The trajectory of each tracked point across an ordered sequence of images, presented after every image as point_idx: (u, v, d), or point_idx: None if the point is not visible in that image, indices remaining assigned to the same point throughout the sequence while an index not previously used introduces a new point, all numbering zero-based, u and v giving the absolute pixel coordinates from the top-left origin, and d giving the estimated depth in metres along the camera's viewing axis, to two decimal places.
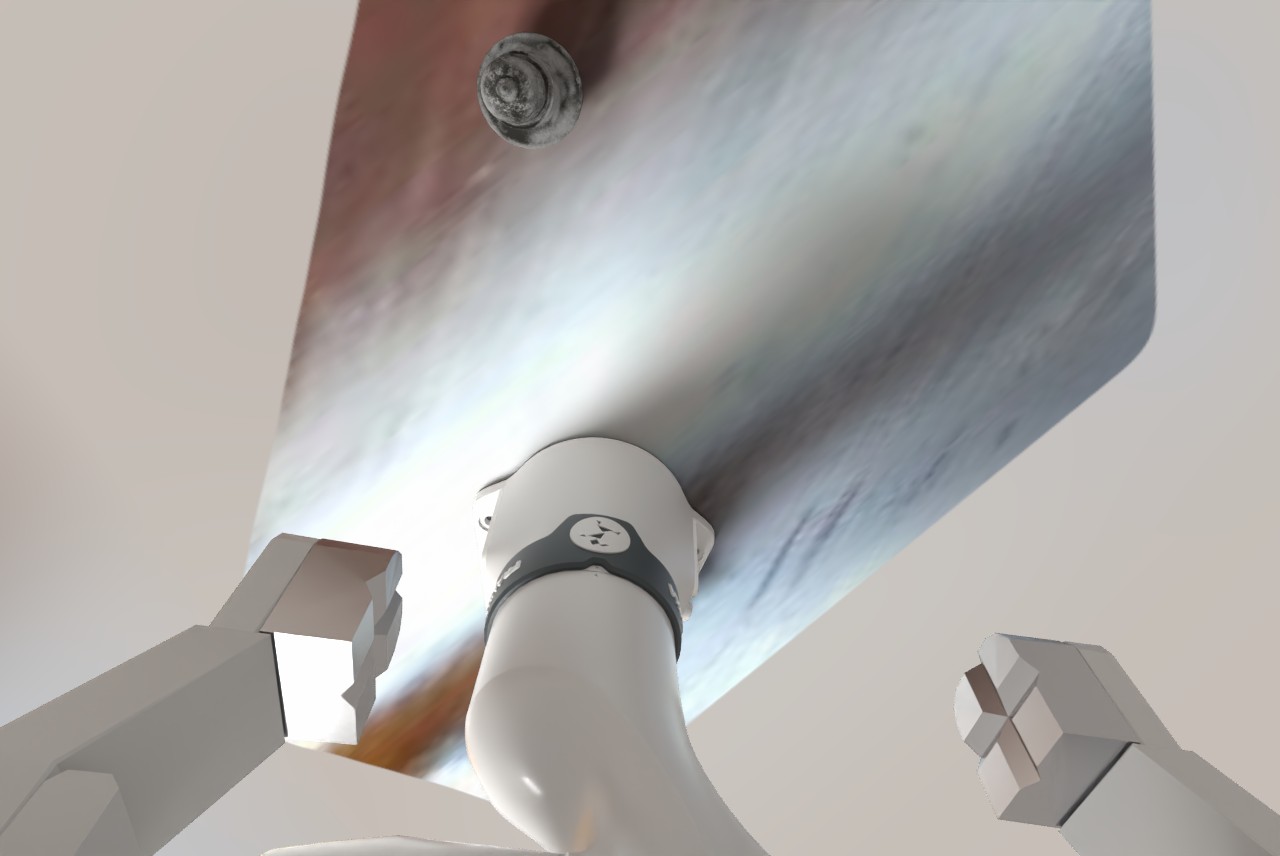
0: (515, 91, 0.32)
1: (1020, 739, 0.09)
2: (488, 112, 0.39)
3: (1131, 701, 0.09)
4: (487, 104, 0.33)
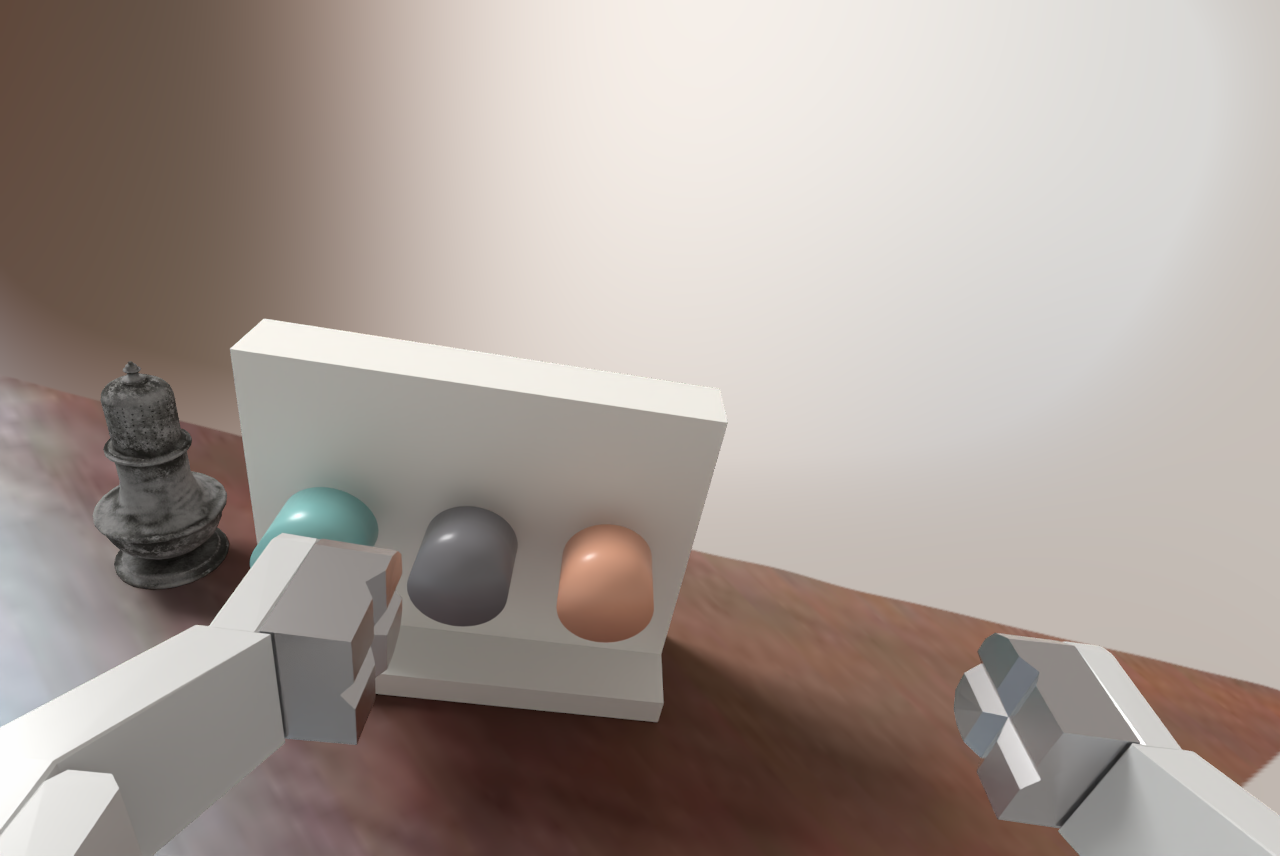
0: (128, 381, 0.32)
1: (1019, 739, 0.09)
2: None
3: (1130, 700, 0.09)
4: None
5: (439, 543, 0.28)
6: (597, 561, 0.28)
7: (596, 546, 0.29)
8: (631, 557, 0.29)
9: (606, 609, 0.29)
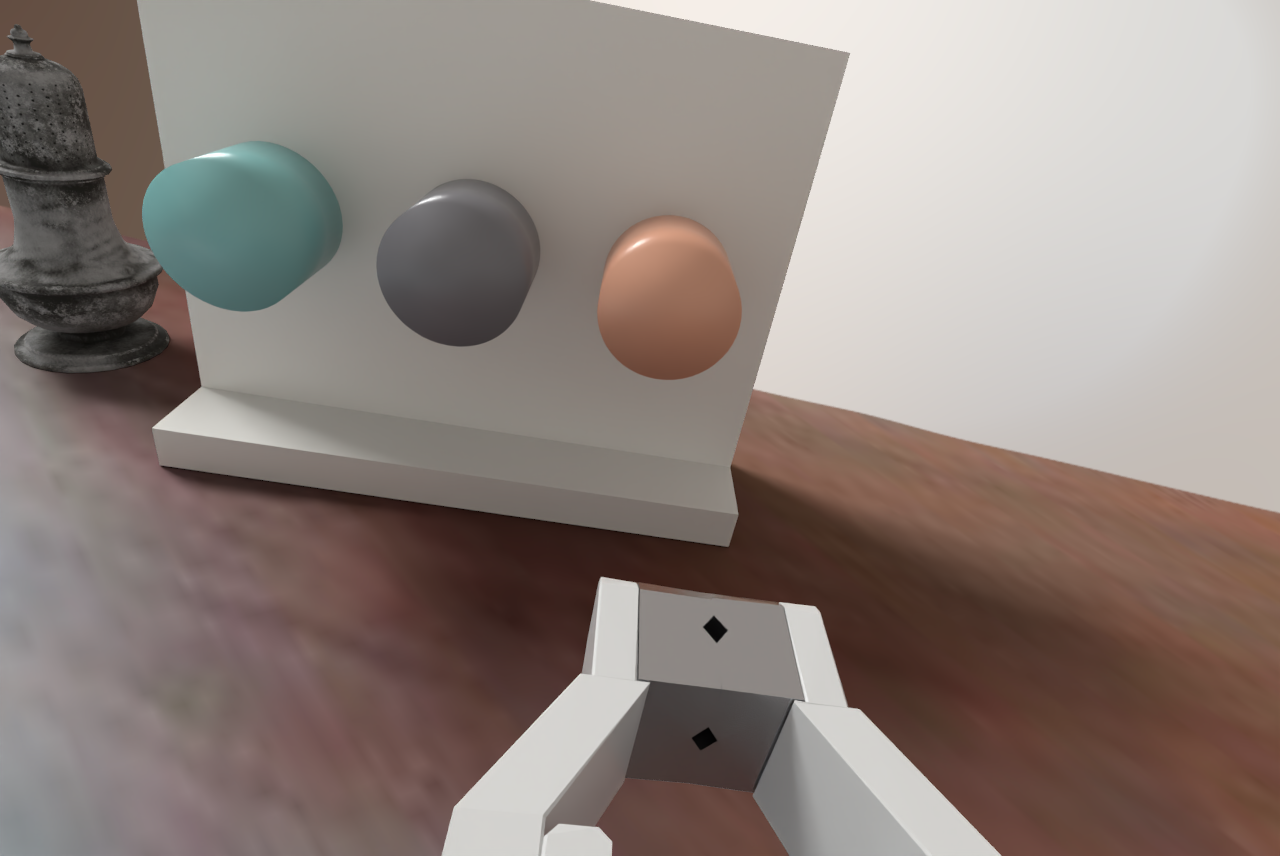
0: (14, 52, 0.24)
1: None
2: None
3: (816, 658, 0.08)
4: None
5: (424, 200, 0.19)
6: (659, 237, 0.19)
7: (657, 228, 0.20)
8: (708, 242, 0.20)
9: (672, 316, 0.19)
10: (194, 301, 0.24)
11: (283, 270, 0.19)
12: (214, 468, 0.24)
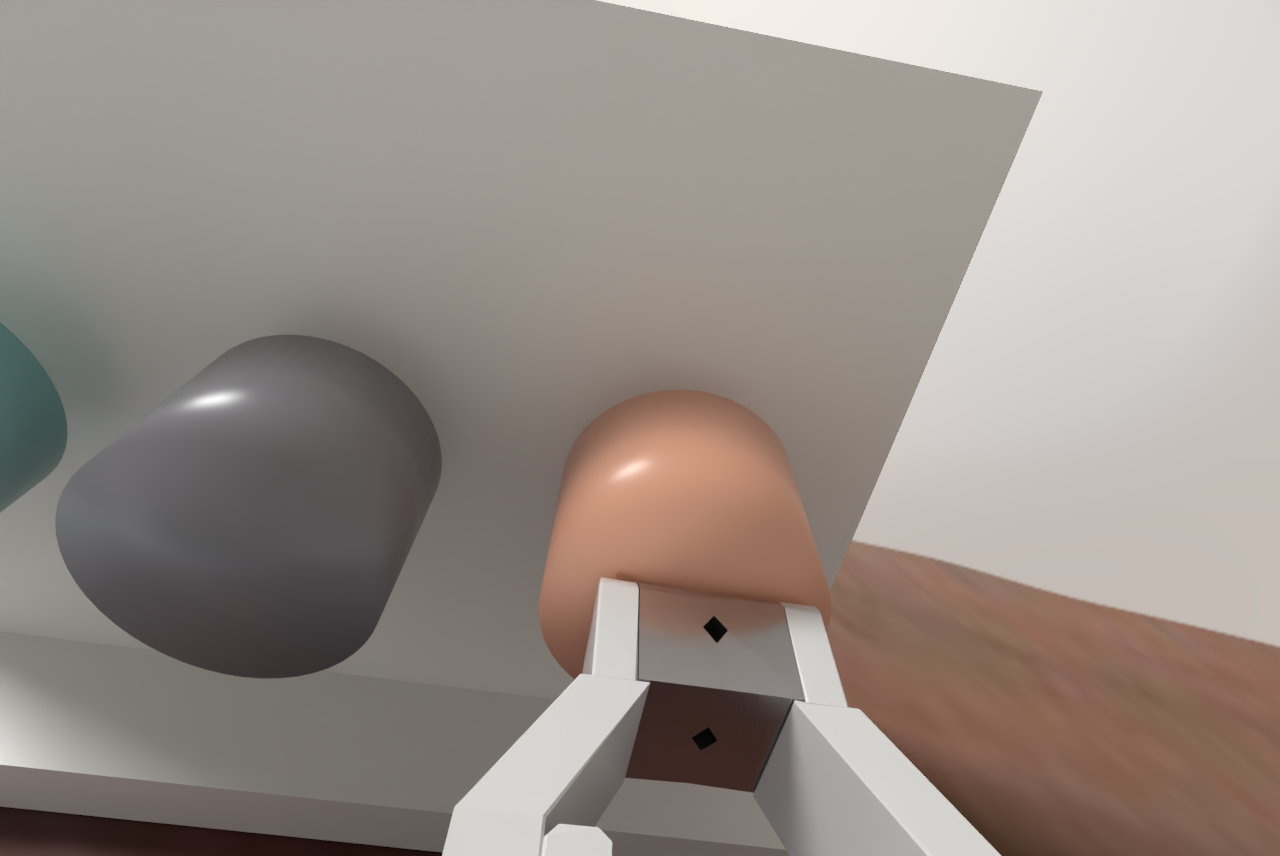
0: None
1: None
2: None
3: (815, 658, 0.08)
4: None
5: (157, 414, 0.09)
6: (663, 471, 0.09)
7: (658, 437, 0.10)
8: (760, 468, 0.10)
9: None
10: None
11: None
12: None
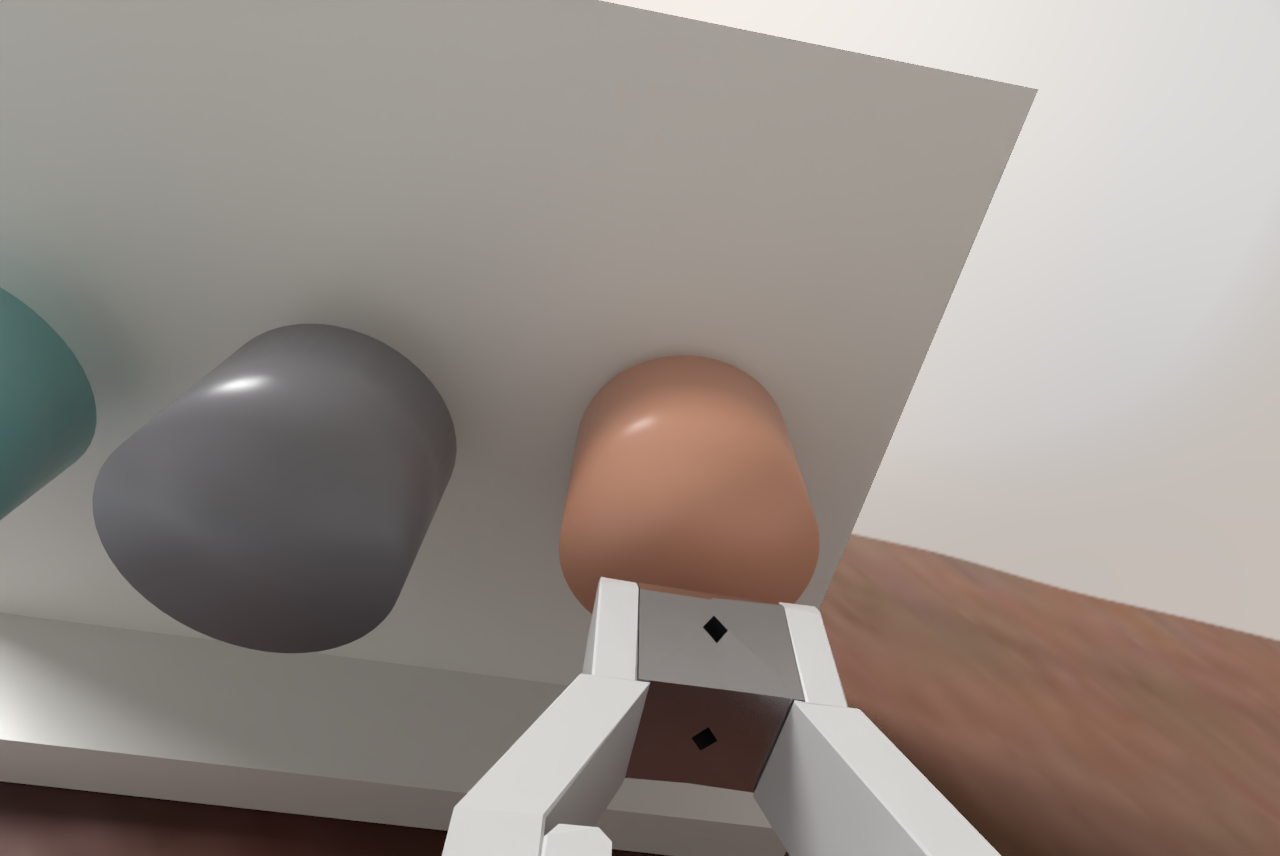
0: None
1: None
2: None
3: (815, 658, 0.08)
4: None
5: (189, 397, 0.09)
6: (670, 421, 0.10)
7: (666, 394, 0.11)
8: (757, 421, 0.11)
9: (693, 557, 0.11)
10: None
11: None
12: None
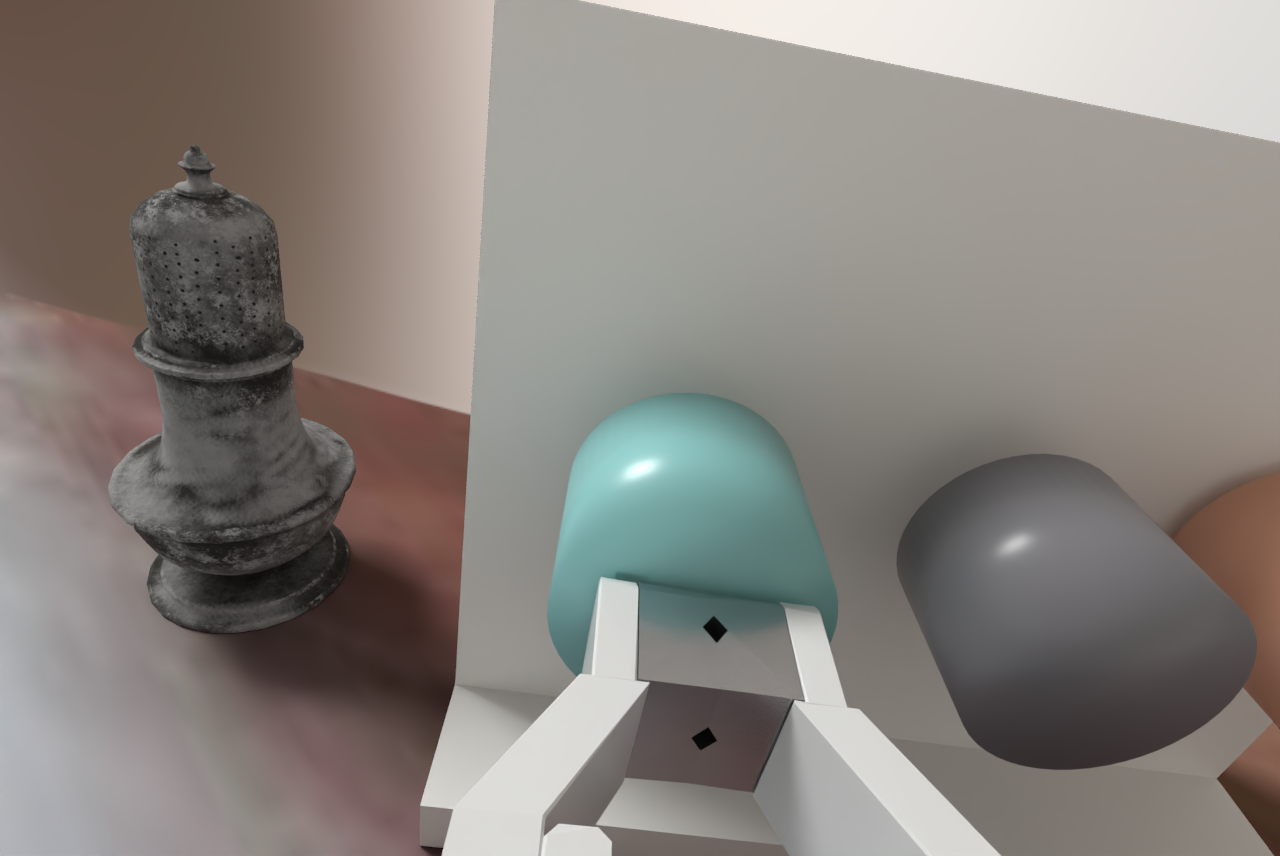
0: (189, 189, 0.15)
1: None
2: None
3: (815, 659, 0.08)
4: None
5: (1072, 548, 0.10)
6: None
7: None
8: None
9: None
10: (472, 583, 0.15)
11: None
12: None
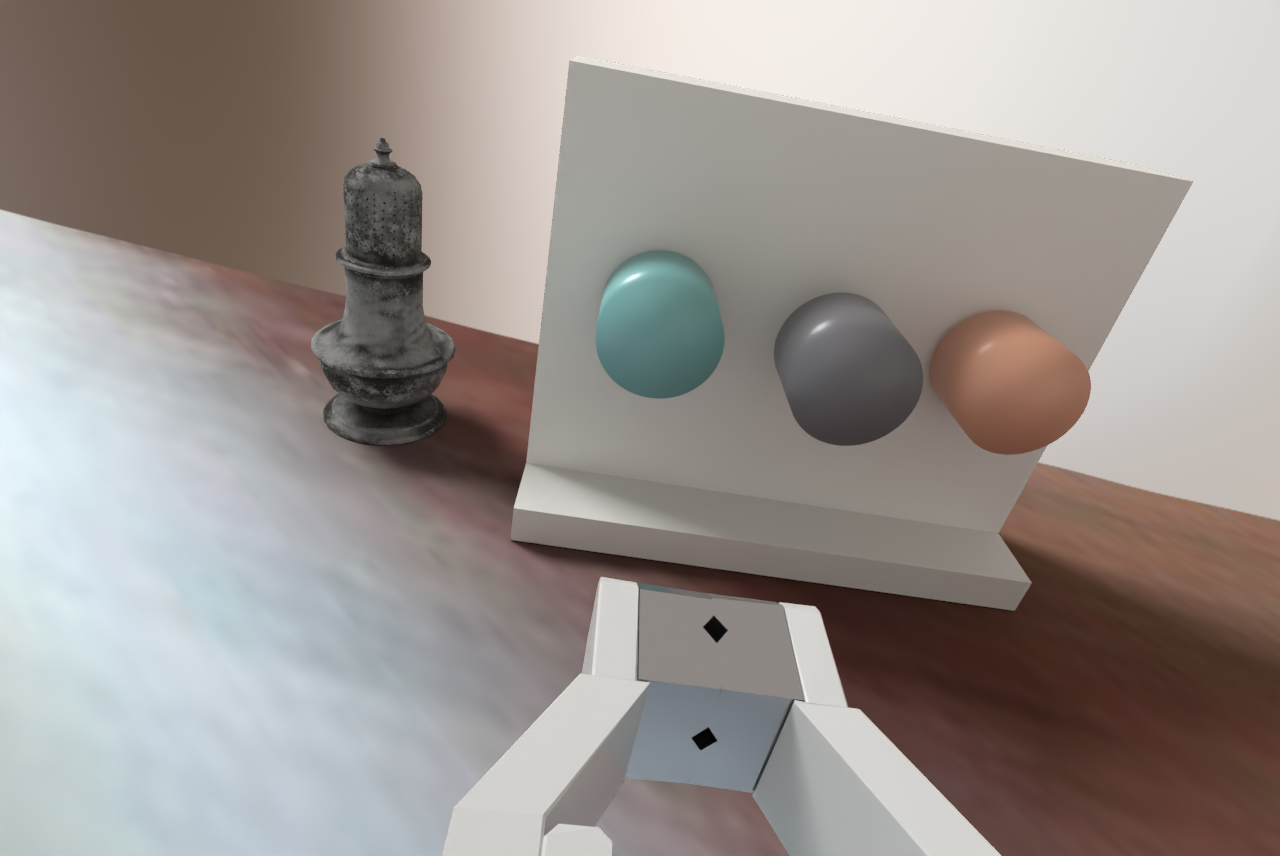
0: (379, 163, 0.26)
1: None
2: None
3: (816, 659, 0.08)
4: None
5: (837, 321, 0.21)
6: (1022, 337, 0.22)
7: (1008, 326, 0.23)
8: (1055, 339, 0.23)
9: (1027, 403, 0.23)
10: (540, 389, 0.26)
11: (704, 365, 0.22)
12: (560, 542, 0.26)
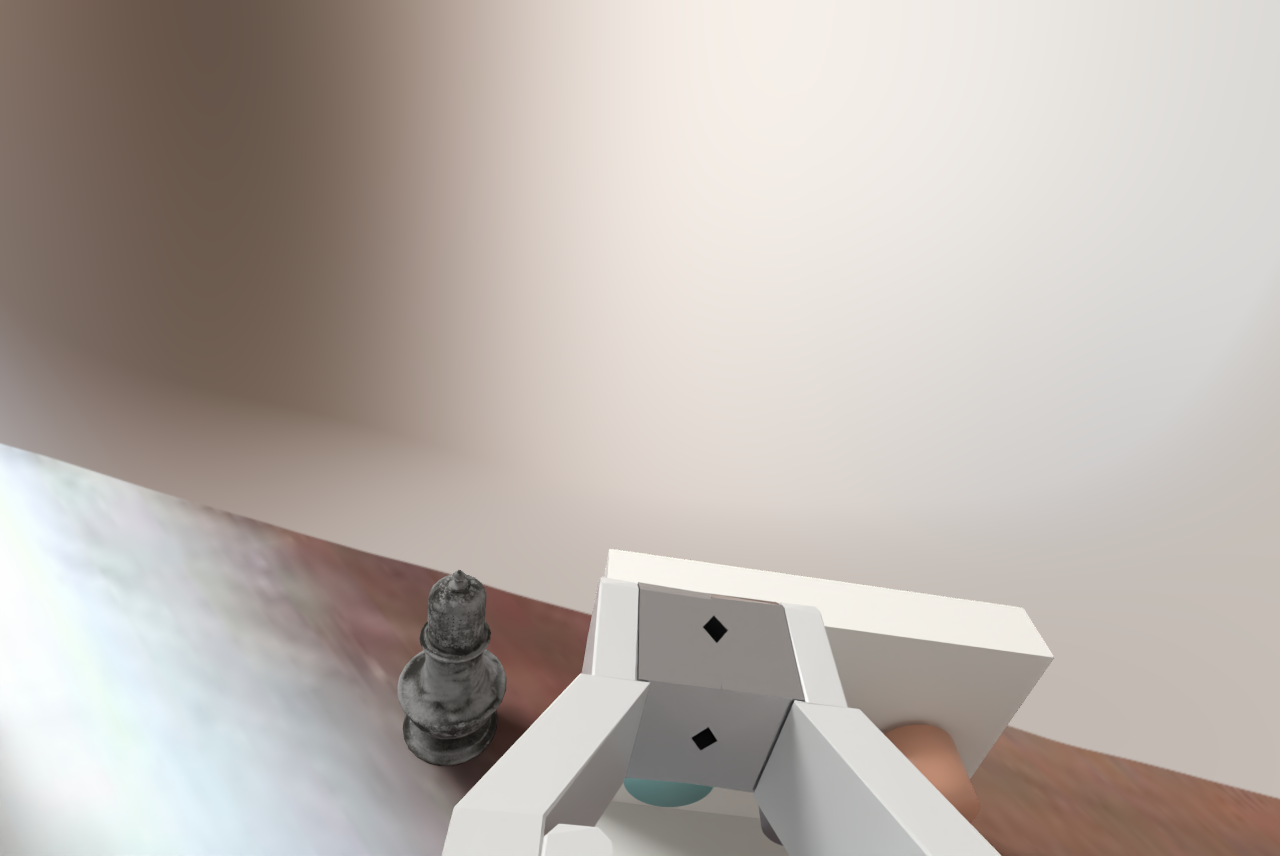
0: (456, 588, 0.35)
1: None
2: None
3: (815, 658, 0.08)
4: (446, 576, 0.36)
5: None
6: (930, 770, 0.31)
7: (922, 751, 0.32)
8: (955, 763, 0.31)
9: None
10: None
11: (700, 791, 0.31)
12: None
